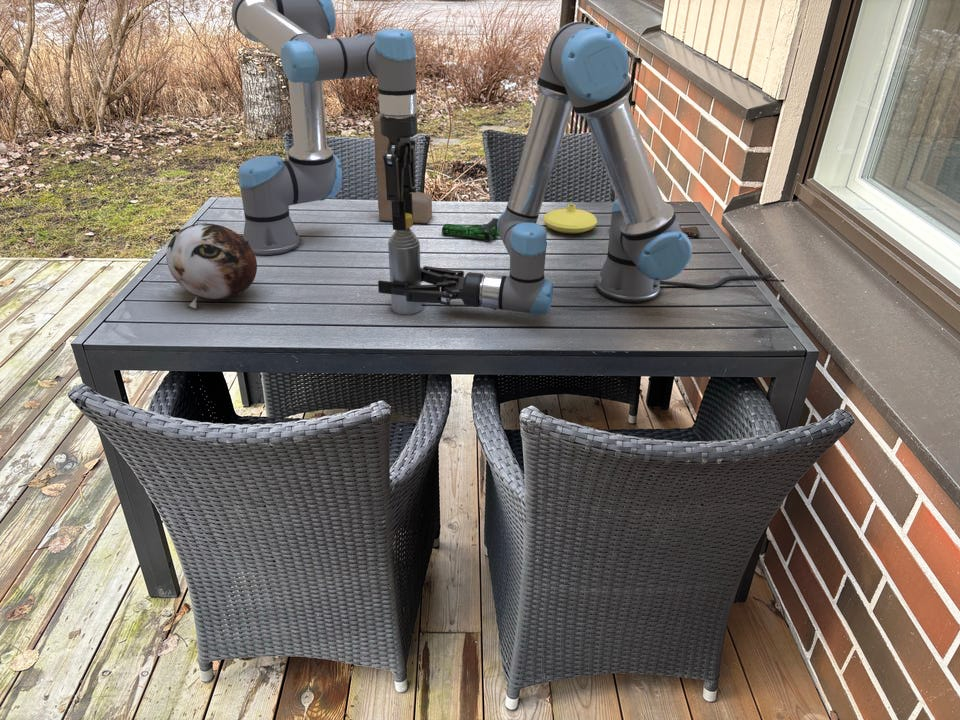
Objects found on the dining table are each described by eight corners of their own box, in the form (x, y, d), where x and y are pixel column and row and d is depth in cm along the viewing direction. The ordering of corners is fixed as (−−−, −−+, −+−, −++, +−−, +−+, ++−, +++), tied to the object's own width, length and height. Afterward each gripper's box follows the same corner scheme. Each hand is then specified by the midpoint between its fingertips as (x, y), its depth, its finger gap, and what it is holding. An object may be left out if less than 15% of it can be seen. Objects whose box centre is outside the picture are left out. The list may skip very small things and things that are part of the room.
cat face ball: (130, 285, 161) (164, 203, 163) (192, 308, 177) (221, 233, 178) (195, 307, 151) (229, 220, 152) (254, 330, 166) (285, 250, 168)
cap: (410, 221, 157) (409, 211, 156) (414, 227, 154) (414, 217, 153) (391, 223, 156) (391, 213, 155) (396, 229, 153) (395, 219, 152)
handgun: (511, 219, 210) (493, 234, 198) (511, 228, 211) (492, 244, 199) (461, 212, 215) (440, 226, 203) (461, 221, 217) (440, 236, 204)
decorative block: (427, 224, 212) (425, 120, 197) (378, 221, 214) (372, 118, 199) (432, 215, 219) (430, 114, 204) (384, 213, 221) (379, 112, 205)
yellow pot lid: (559, 216, 220) (561, 193, 217) (605, 227, 212) (608, 204, 209) (532, 230, 209) (533, 207, 206) (580, 242, 201) (582, 218, 198)
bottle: (389, 313, 163) (383, 223, 152) (394, 300, 169) (389, 212, 158) (419, 315, 162) (416, 224, 151) (423, 301, 168) (421, 213, 157)
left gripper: (394, 105, 151) (399, 211, 163) (364, 122, 137) (372, 238, 149) (428, 107, 150) (431, 214, 162) (401, 125, 135) (406, 241, 147)
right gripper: (472, 325, 152) (370, 313, 157) (491, 287, 169) (399, 277, 173) (472, 294, 148) (368, 282, 153) (492, 258, 165) (397, 248, 169)
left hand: (403, 225), depth 155 cm, fingers closed on cap, 4 cm apart
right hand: (384, 279), depth 163 cm, fingers closed on bottle, 7 cm apart
